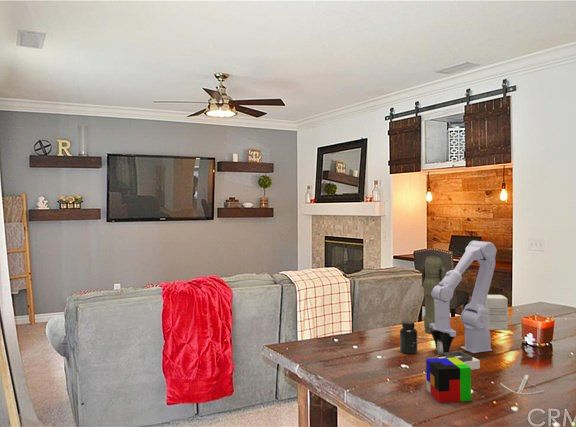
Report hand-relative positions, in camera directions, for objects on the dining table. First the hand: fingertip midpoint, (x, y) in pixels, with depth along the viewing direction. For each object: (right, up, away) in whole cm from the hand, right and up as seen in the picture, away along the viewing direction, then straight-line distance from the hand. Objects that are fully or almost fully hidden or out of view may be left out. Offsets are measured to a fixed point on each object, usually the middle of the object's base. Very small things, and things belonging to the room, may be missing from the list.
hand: (442, 350), depth 188 cm
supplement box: (+37, 0, +38) cm, 53 cm away
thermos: (+7, -1, +32) cm, 33 cm away
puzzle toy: (-11, -3, -40) cm, 42 cm away
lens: (0, -1, 0) cm, 1 cm away
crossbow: (+15, -3, -34) cm, 37 cm away
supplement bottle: (-13, -2, +3) cm, 13 cm away
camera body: (+1, -2, -16) cm, 16 cm away
